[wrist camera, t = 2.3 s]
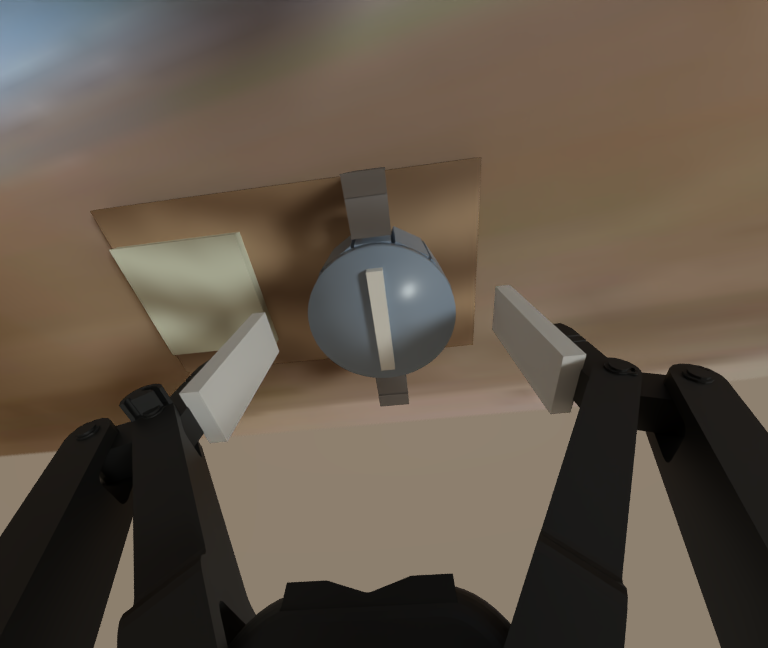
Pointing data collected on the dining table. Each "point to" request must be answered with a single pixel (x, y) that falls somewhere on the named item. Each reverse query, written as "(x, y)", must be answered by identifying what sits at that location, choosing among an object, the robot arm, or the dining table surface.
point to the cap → (382, 305)
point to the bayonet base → (288, 253)
